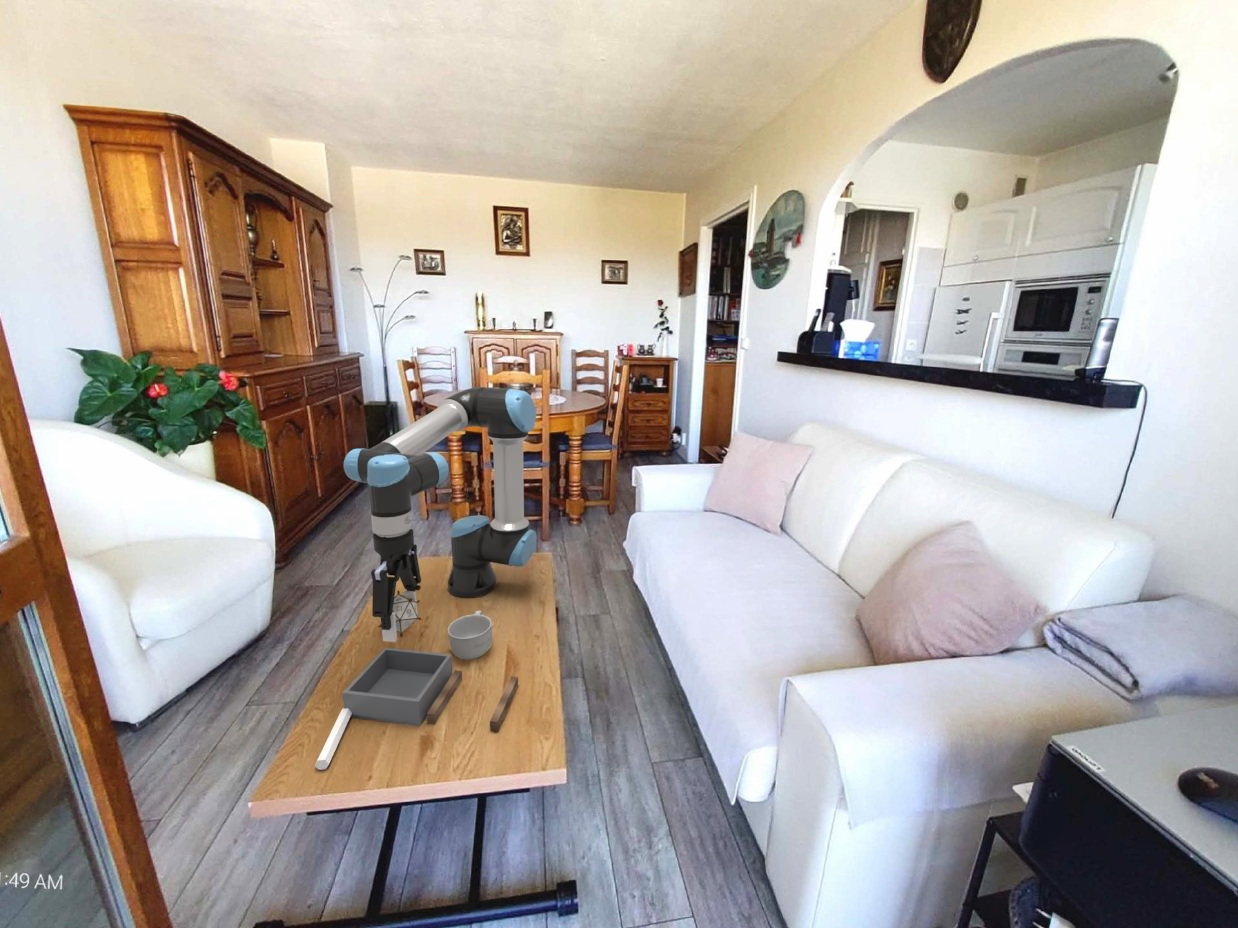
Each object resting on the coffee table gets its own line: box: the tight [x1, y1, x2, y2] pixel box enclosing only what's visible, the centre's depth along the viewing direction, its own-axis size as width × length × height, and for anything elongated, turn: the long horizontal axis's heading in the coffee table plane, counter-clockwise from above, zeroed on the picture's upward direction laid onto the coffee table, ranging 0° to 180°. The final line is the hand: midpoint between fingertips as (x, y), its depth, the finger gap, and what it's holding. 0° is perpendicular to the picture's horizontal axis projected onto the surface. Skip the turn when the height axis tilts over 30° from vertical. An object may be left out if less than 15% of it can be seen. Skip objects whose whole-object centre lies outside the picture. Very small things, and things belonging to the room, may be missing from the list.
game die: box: [378, 589, 423, 638], centre depth 105 cm, size 9×8×10 cm
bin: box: [341, 647, 454, 727], centre depth 109 cm, size 16×17×6 cm
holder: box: [426, 669, 519, 733], centre depth 108 cm, size 14×15×2 cm
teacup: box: [447, 610, 493, 660], centre depth 126 cm, size 14×11×8 cm
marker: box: [314, 707, 352, 771], centre depth 98 cm, size 3×2×16 cm
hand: (400, 628), depth 106 cm, fingers closed on game die, 8 cm apart
